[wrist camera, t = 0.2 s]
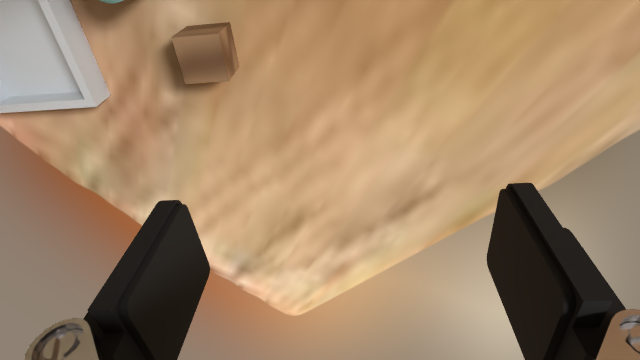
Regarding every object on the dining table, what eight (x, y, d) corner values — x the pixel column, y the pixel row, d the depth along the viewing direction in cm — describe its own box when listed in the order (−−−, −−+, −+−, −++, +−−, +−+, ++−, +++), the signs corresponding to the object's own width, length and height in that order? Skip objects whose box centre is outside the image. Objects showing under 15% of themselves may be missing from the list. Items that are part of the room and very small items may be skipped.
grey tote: (-84, -58, 40) (-117, -55, 37) (39, -72, 39) (14, -71, 36) (10, 102, 51) (-10, 113, 48) (110, 95, 49) (96, 106, 46)
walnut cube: (187, 25, 44) (171, 37, 40) (230, 22, 43) (217, 33, 39) (199, 68, 47) (185, 84, 43) (239, 65, 46) (229, 80, 42)
